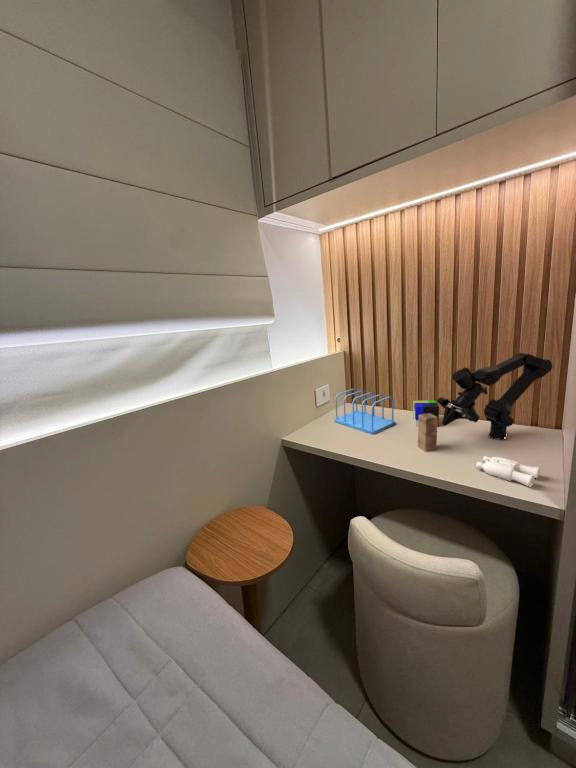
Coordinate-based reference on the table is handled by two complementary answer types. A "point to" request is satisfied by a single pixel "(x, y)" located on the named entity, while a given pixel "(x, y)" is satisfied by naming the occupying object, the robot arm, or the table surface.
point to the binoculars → (509, 470)
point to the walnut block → (427, 432)
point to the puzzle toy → (425, 410)
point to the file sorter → (365, 416)
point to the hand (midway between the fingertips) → (443, 424)
